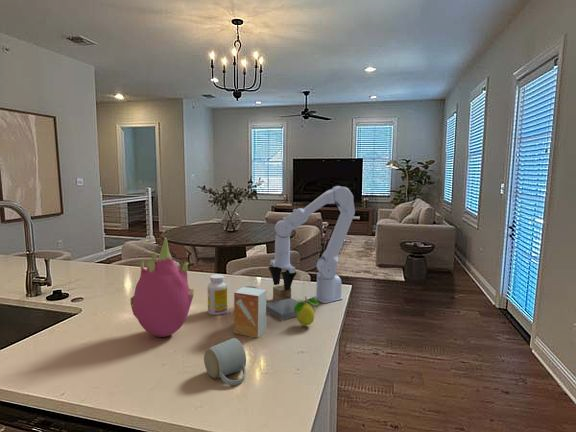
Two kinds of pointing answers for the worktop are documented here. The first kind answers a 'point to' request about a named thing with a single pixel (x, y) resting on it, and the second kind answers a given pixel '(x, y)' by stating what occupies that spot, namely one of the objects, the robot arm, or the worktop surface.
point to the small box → (250, 311)
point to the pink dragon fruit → (162, 295)
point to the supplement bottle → (217, 295)
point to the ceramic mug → (226, 360)
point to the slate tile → (282, 308)
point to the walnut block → (281, 293)
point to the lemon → (305, 312)
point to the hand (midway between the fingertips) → (281, 287)
